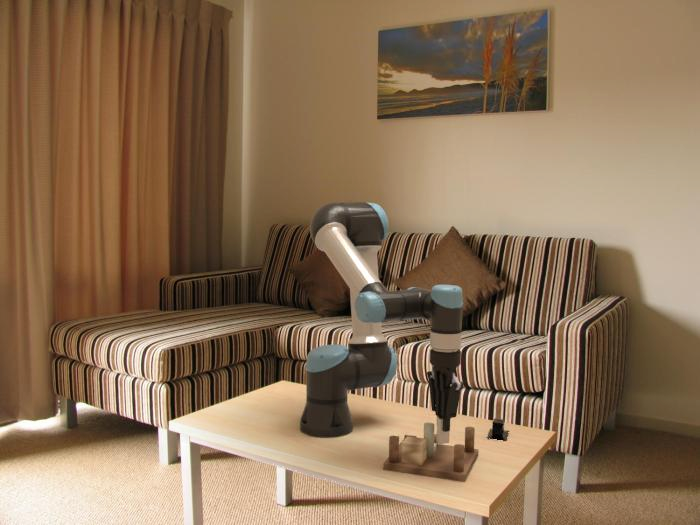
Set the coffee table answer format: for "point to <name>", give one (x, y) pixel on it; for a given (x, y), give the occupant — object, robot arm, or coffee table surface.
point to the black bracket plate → (498, 430)
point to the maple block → (414, 450)
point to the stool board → (437, 459)
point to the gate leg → (430, 438)
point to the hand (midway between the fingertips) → (442, 442)
